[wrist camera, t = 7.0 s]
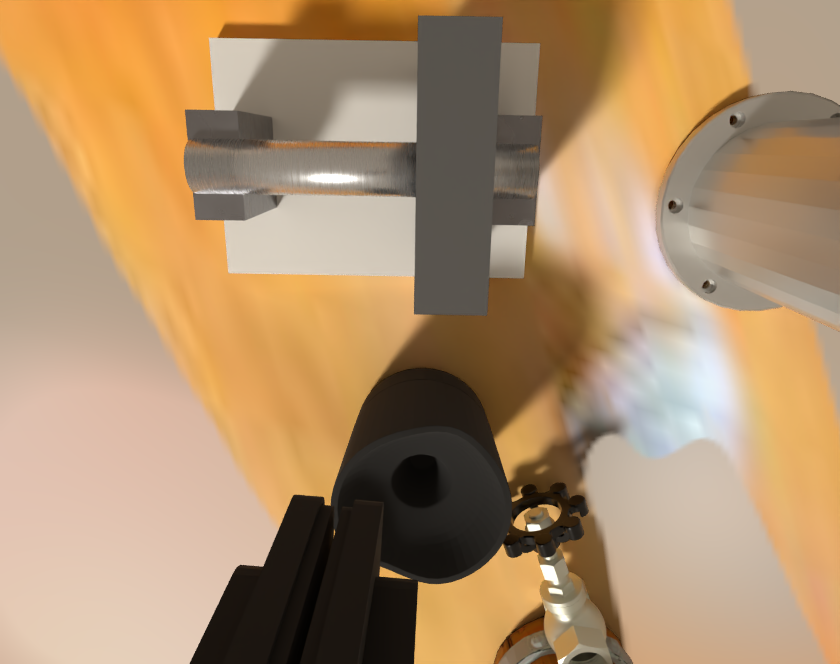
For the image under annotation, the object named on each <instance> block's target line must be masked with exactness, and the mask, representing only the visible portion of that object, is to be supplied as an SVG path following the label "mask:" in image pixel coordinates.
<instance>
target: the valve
mask: <svg viewBox="0 0 840 664" xmlns="http://www.w3.org/2000/svg"><path fill="white" fill-rule="evenodd" d="M521 494H522V498H521V499H519V500H517V501H515V502H512V518H511V524H510V527H509V530H508V533H507V536H506V538H505V540H504V542H503V545H504V548H505V551H506V554H507V555H508V556H509V557H511V558H515V557H518V556H520V555H521V554H522V552H523V553H529V552H531V551H533V550H534V551H535V552H537V553H539V554H538V555H537V556H538V560H539V563H540V567H541V569H542V572H543V575H544V578H545V579H544V581H543V582H542V584H541V586H540V595H541V598H542V601H543V605H544V608H545V611H546V613H545V618H544V630H545V635H546V638H547V640H548V643H549V644H550V646H551V648H552V649H553V650H554V652H555V653H556V656H557V660H558V663H559V664H613V662H612V659H611V656H610V653H609V650H608V647H607V644H606V625H605V621H604V618H603V616H602V614H601V612H600V610H599V609H598V608H597V606H596V605H595V604H594V603H593V602H592V601H591V600H590V598H589V595H588V592H587V589H586V586H585V584H584V581H583V579H582V578H580V577H579V576H577V575H576V574H574V573H572V572H569V571H568V568H567V565H566V562H565V559H564V556H563V553H562V550H561V549H560V548H558V547H559V545H560V542H561V543H563V542H567V541H568V540H579V539H581V538H582V537H583V535H584V530H583V527H582V524H581V521H580V519H579V518H578V517H575V516H572V514H573V513H575V512H580V515H581V517H584V516H586V515H587V514H588V511H589V510H588V507H587V504H586V500H585V498H584V497H583V496H581V495H575V496H572V497H571V498H570V496H569V493H568V490H567V487H566V485H565V484H564V483H555V484H553V485H552V486H551V487H550V491H548V492H545V493H538V491H537V488H536V486H535V485H533V484H529V485H526V486H524V487H522V489H521ZM542 504H548V505H553V506H556V507H558V508H559V509H560V510H561V515H560V517H559V518H558V520H557V521H556V522H555V521H554V520H553V519H552V518H551V517H550V516H549V513H548V510H547V508H543V507H538V505H542ZM527 508H531V509H530V510H529V511H528V512H526V513H525V515H524V518H525V521H526V527H525V530H526V531H522V530H519V529H517V528H515V527H514V526H513V524H514V521H515V519H516V517H517V516H518V515H519V514H520V513H521V512H522V511H524V510H525V509H527Z"/></svg>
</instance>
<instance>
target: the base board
mask: <svg viewBox="0 0 840 664" xmlns="http://www.w3.org/2000/svg"><path fill="white" fill-rule="evenodd" d="M209 44H210V56H211V68H212V80H213V92H214V104H215V110H232V111H242V112H247V113H253V114H258V115H264V116H269V117H272V123H273V140H313V141H372V142H416V138H417V65H418V41H368V40H308V39H247V38H209ZM539 55H540V43H501V62H500V81H499V100H498V115H528V116H535V112H536V97H537V83H538V69H539ZM415 210H416V197H370V196H313V195H277V208H274V209H272V210H269V211H267V212H265V213H262V214H260V215H257V216H255V217H253V218H250V219H248V220H246V221H236V220H224V225H225V237H226V250H227V262H228V273H252V274H309V275H365V276H415ZM526 239H527V226H522V225H492V233H491V252H490V271H489V278H524V268H525V253H526Z"/></svg>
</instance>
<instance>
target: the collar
mask: <svg viewBox="0 0 840 664" xmlns="http://www.w3.org/2000/svg"><path fill="white" fill-rule="evenodd" d="M502 24H503V17H475V16H418V65H417V138H416V210H415V283H414V314H426V315H482V316H487V309H488V290H489V271H490V252H491V233H492V214H493V195H494V176H495V157H496V138H497V119H498V100H499V81H500V62H501V43H502Z"/></svg>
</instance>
